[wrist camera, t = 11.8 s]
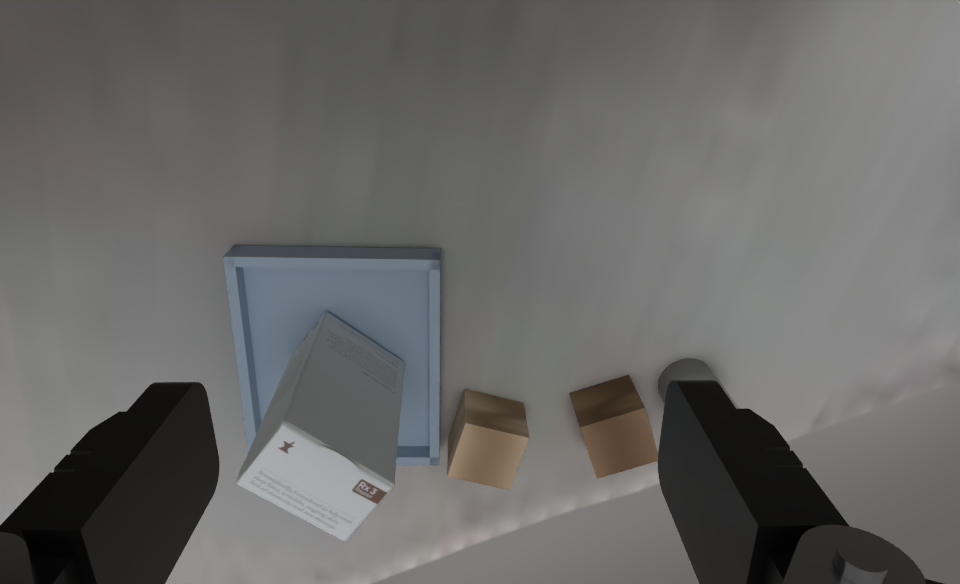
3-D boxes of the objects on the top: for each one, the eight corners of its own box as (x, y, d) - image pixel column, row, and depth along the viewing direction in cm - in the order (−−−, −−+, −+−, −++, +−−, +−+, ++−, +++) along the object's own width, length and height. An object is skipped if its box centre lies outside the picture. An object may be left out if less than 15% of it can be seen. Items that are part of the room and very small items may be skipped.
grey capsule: (717, 358, 42) (749, 400, 37) (708, 406, 43) (738, 452, 39) (661, 358, 42) (687, 399, 37) (654, 406, 43) (678, 452, 39)
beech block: (523, 402, 43) (529, 437, 39) (504, 451, 44) (509, 490, 41) (464, 388, 42) (465, 422, 39) (448, 438, 44) (447, 476, 40)
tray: (440, 248, 38) (439, 259, 37) (439, 446, 44) (439, 465, 42) (234, 245, 38) (222, 256, 36) (258, 446, 43) (250, 464, 41)
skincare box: (288, 358, 40) (222, 488, 29) (328, 304, 39) (276, 419, 27) (371, 409, 42) (340, 551, 30) (413, 359, 40) (396, 489, 29)
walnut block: (628, 374, 42) (644, 407, 39) (642, 423, 44) (659, 460, 40) (569, 392, 43) (580, 427, 39) (585, 440, 44) (597, 478, 40)
